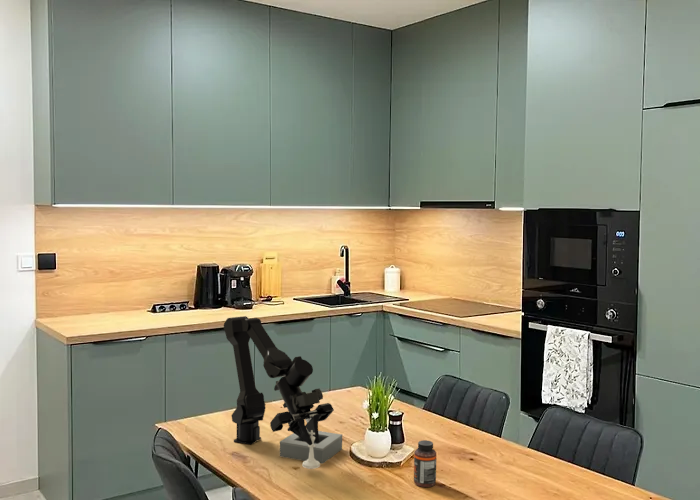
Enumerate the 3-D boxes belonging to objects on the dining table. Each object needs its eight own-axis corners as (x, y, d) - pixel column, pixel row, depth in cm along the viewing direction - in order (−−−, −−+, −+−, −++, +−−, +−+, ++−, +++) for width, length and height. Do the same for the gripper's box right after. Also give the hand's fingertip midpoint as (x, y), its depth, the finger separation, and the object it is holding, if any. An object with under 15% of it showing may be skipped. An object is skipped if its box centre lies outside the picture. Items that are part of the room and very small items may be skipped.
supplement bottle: (411, 479, 190) (412, 438, 189) (433, 479, 190) (434, 438, 190) (415, 488, 184) (416, 446, 183) (437, 487, 184) (438, 446, 184)
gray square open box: (279, 456, 206) (279, 441, 205) (301, 442, 219) (301, 428, 218) (322, 464, 200) (322, 448, 200) (342, 449, 213) (342, 434, 213)
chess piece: (317, 469, 191) (318, 433, 190) (300, 467, 192) (300, 432, 191) (321, 463, 196) (322, 428, 195) (304, 461, 197) (305, 426, 196)
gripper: (276, 384, 189) (299, 435, 182) (330, 375, 201) (354, 422, 193) (260, 406, 196) (281, 456, 188) (313, 395, 208) (335, 442, 200)
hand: (314, 443), depth 192 cm, fingers closed on chess piece
